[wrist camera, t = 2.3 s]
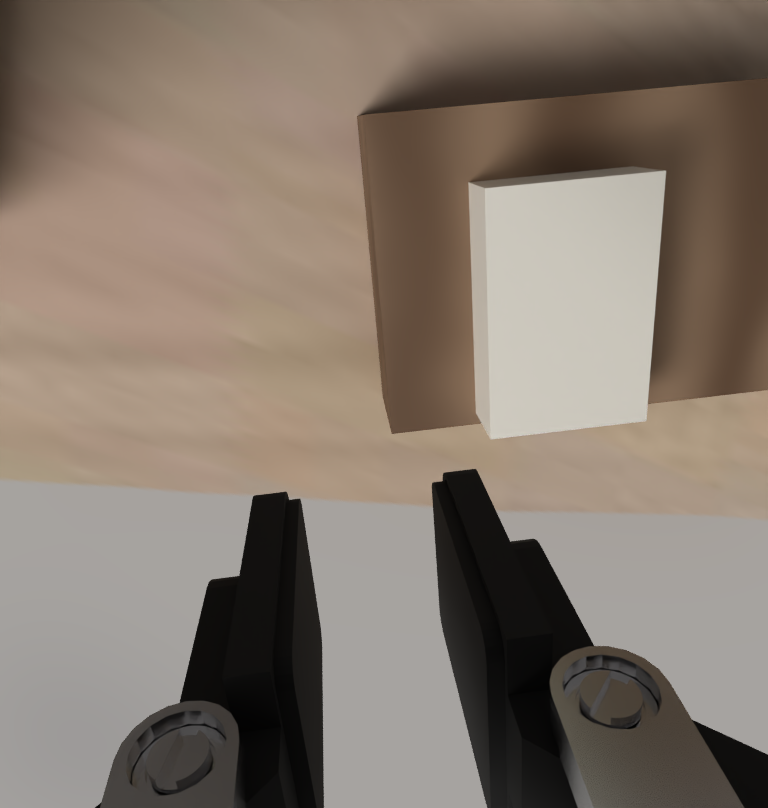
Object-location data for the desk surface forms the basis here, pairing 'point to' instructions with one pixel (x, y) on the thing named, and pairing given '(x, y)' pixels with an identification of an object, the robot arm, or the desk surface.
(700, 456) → the desk surface
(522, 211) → the white rectangular block
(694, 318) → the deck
